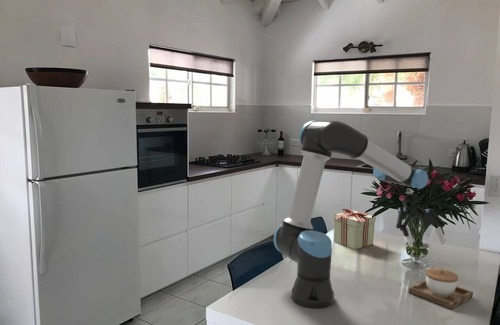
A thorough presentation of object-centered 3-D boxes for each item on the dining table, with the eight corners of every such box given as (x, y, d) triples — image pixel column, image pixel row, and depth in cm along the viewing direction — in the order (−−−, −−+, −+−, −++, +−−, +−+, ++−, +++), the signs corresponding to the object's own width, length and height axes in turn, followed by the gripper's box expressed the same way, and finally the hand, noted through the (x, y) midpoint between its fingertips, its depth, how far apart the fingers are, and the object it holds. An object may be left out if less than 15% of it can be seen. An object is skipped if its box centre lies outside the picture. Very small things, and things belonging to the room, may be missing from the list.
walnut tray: (451, 309, 137) (452, 303, 137) (408, 292, 150) (409, 287, 150) (472, 297, 147) (472, 291, 147) (430, 282, 160) (430, 277, 159)
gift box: (327, 243, 206) (329, 210, 204) (349, 236, 217) (351, 205, 215) (355, 252, 193) (357, 217, 191) (377, 245, 205) (379, 212, 202)
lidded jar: (449, 288, 153) (451, 264, 152) (461, 301, 143) (463, 276, 142) (420, 286, 154) (422, 263, 153) (430, 299, 144) (432, 274, 142)
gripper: (433, 202, 174) (452, 246, 161) (379, 202, 171) (394, 248, 158) (441, 192, 168) (461, 238, 155) (385, 192, 165) (401, 239, 152)
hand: (427, 243), depth 157 cm, fingers open, 13 cm apart
